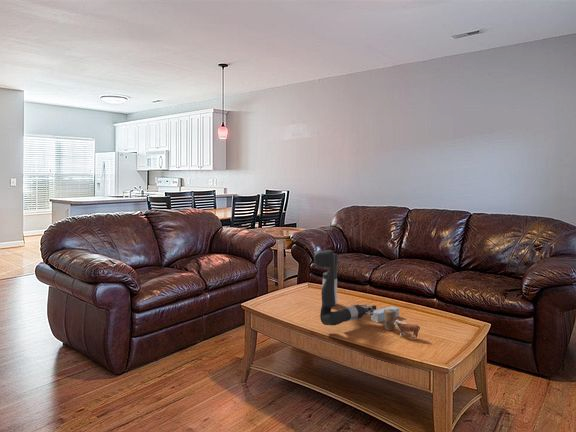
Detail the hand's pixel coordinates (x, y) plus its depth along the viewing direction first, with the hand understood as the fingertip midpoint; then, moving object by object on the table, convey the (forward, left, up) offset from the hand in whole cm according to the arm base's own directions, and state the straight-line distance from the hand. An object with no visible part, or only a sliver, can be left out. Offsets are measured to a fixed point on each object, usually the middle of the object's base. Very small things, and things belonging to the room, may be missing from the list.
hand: (375, 307), depth 238 cm
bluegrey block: (-1, -1, -6) cm, 6 cm away
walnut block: (+7, -11, -8) cm, 15 cm away
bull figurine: (+15, -21, -8) cm, 27 cm away
